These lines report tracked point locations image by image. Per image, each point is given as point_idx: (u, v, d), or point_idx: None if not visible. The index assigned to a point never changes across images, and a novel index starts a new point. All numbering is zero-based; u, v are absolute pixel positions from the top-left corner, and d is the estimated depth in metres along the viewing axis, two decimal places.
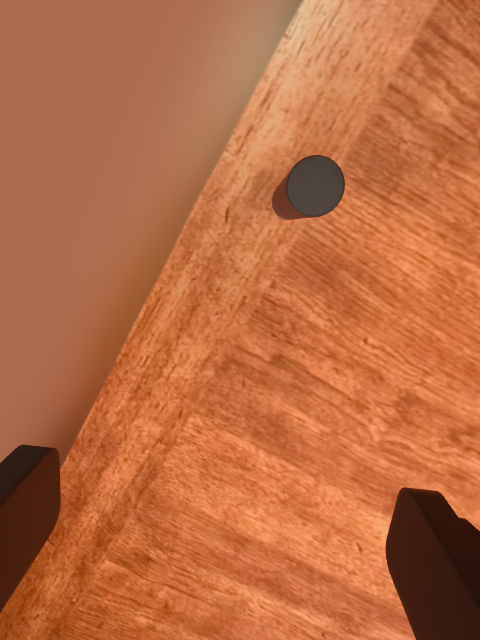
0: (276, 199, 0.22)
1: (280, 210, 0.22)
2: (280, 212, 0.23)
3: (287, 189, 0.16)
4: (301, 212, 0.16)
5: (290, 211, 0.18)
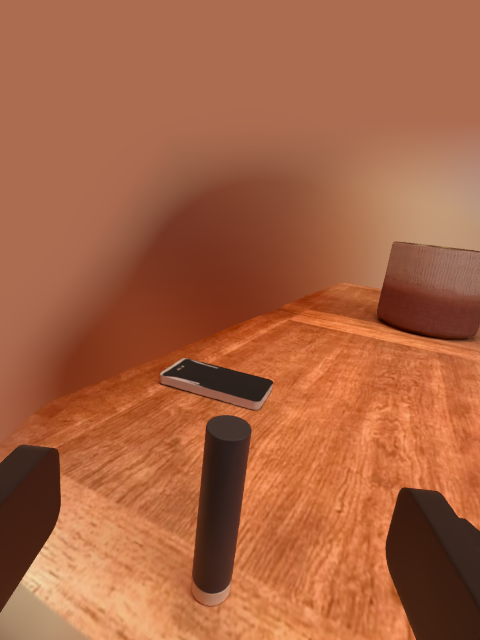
0: (221, 532, 0.21)
1: (232, 529, 0.21)
2: (232, 540, 0.22)
3: (231, 440, 0.19)
4: (248, 434, 0.20)
5: (242, 470, 0.21)
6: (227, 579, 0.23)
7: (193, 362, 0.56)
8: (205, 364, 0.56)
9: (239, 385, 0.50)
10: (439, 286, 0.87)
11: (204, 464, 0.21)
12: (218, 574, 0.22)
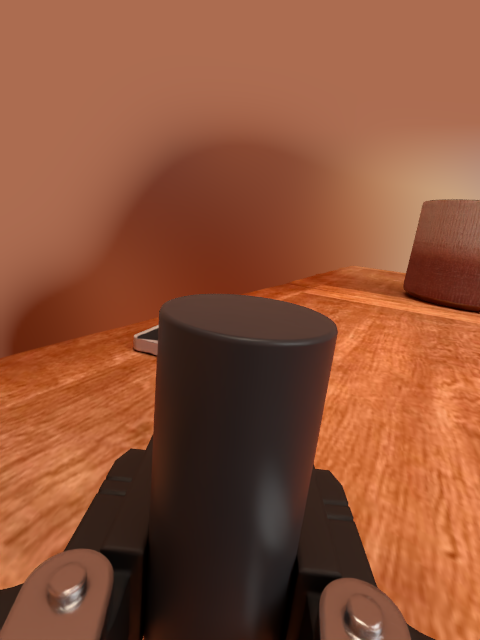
0: None
1: None
2: None
3: (269, 340, 0.04)
4: (333, 332, 0.05)
5: (305, 481, 0.05)
6: None
7: None
8: None
9: None
10: None
11: (155, 458, 0.05)
12: None
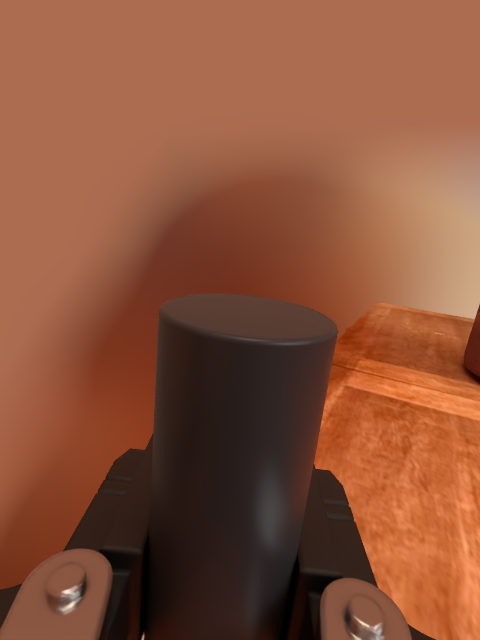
0: None
1: None
2: None
3: (269, 340, 0.04)
4: (333, 331, 0.05)
5: (305, 480, 0.05)
6: None
7: None
8: None
9: None
10: None
11: (155, 458, 0.05)
12: None
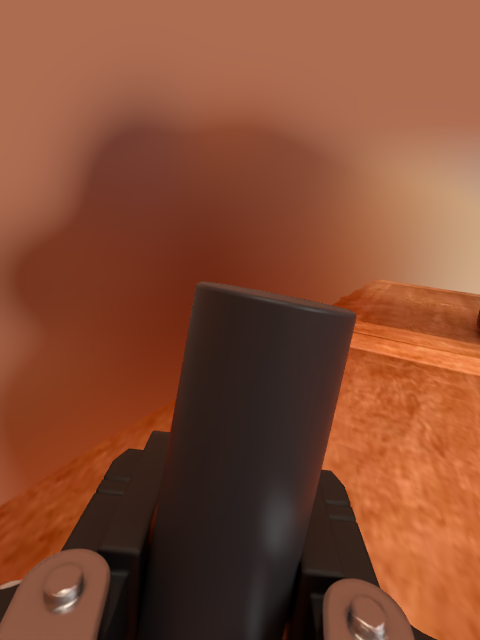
0: None
1: None
2: None
3: (295, 303, 0.05)
4: None
5: (317, 458, 0.05)
6: None
7: None
8: None
9: None
10: None
11: (175, 424, 0.06)
12: None
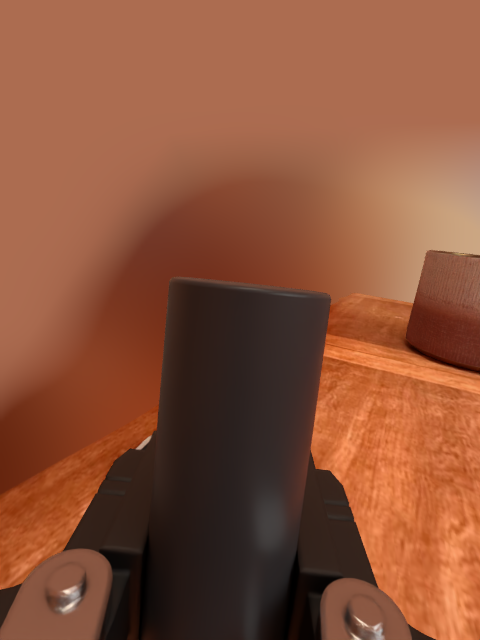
0: None
1: None
2: None
3: (263, 289, 0.05)
4: (325, 296, 0.05)
5: (302, 443, 0.05)
6: None
7: None
8: None
9: None
10: None
11: (160, 420, 0.06)
12: None
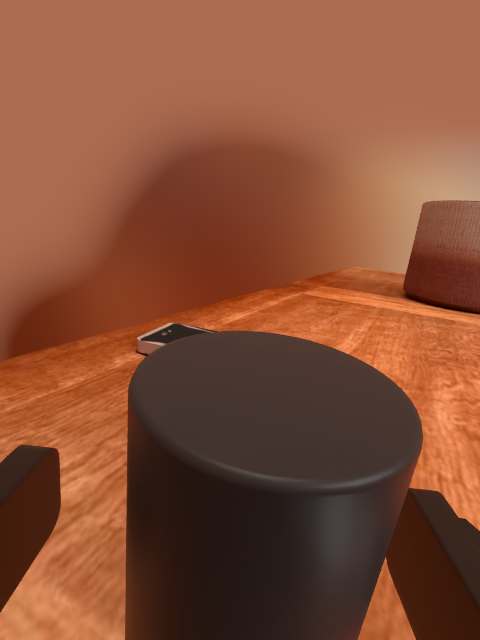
0: None
1: None
2: None
3: (308, 482, 0.02)
4: (417, 434, 0.03)
5: None
6: None
7: (185, 327, 0.41)
8: (201, 329, 0.41)
9: None
10: None
11: (127, 586, 0.04)
12: None
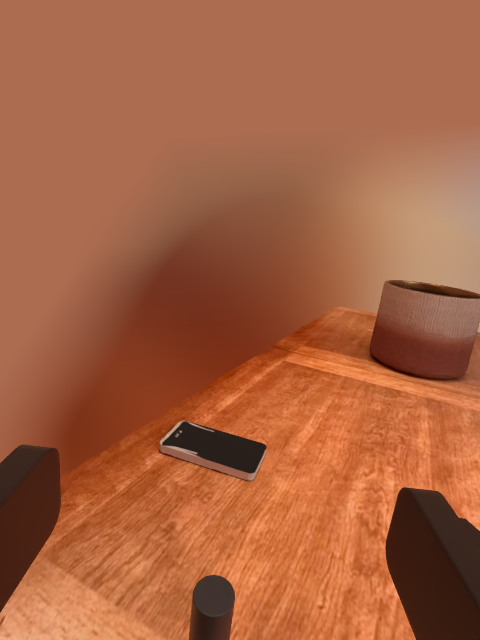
0: None
1: None
2: None
3: (214, 616, 0.21)
4: (231, 606, 0.22)
5: (226, 637, 0.22)
6: None
7: (191, 426, 0.59)
8: (202, 427, 0.59)
9: (234, 453, 0.53)
10: (428, 330, 0.90)
11: (191, 627, 0.22)
12: None
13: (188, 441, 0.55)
